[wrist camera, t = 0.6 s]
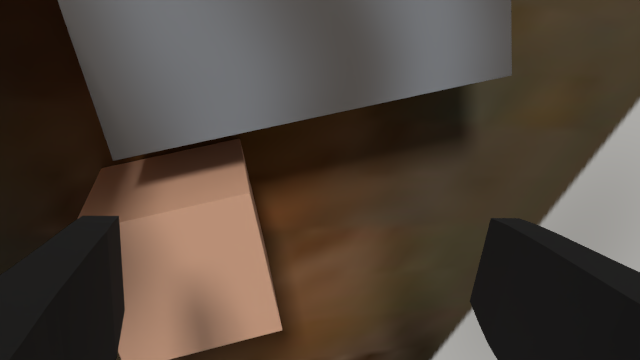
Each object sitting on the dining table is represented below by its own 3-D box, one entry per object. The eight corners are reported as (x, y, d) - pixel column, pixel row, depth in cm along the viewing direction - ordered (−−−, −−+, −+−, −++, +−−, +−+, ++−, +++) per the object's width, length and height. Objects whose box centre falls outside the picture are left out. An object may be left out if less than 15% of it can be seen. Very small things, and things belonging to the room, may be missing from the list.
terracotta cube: (142, 281, 21) (126, 370, 17) (101, 167, 19) (70, 233, 15) (266, 252, 22) (282, 330, 17) (239, 137, 20) (249, 192, 15)
